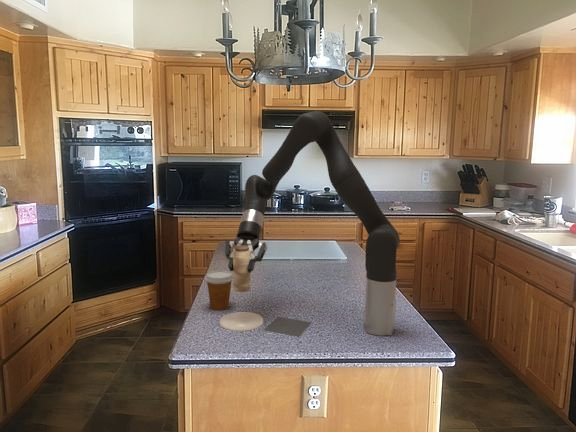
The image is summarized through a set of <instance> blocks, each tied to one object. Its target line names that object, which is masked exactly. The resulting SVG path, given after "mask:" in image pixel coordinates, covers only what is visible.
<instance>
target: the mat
mask: <svg viewBox="0 0 576 432" xmlns="http://www.w3.org/2000/svg"><path fill="white" fill-rule="evenodd" d="M312 323H313V321H305V320H299V319H294V318H290V317H283V316H277V317H276V318H274V319H273V321H271V323H269V324H268V325H267V326H266V327H265V328H263V331H266V332H271V333H276V334H281V335H288V336H292V337H293V336H294V337H298V338H300V336H301V335H302V334H303V333H304V332H305V331H306V330H307V328H308V327H310V325H311V324H312Z"/></svg>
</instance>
